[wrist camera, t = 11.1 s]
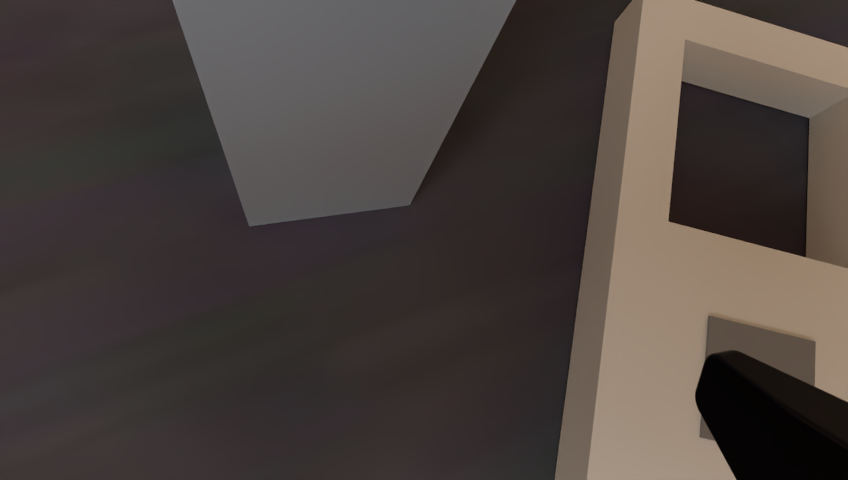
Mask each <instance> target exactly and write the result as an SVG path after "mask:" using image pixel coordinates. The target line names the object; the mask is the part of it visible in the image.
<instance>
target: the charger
mask: <svg viewBox="0 0 848 480" xmlns="http://www.w3.org/2000/svg"><path fill="white" fill-rule="evenodd" d="M515 2H516V0H173V3H174V6H175V9H176V12H177V15H178V18H179V21H180V24H181V27H182V30H183V33H184V36H185V39H186V41H187V44H188V47H189V50H190V53H191V56H192V59H193V62H194V65H195V68H196V71H197V74H198V77H199V80H200V83H201V86H202V89H203V92H204V95H205V97H206V100H207V103H208V106H209V109H210V112H211V115H212V118H213V121H214V124H215V127H216V130H217V133H218V136H219V139H220V142H221V145H222V148H223V151H224V154H225V156H226V159H227V162H228V165H229V168H230V171H231V174H232V177H233V180H234V183H235V186H236V189H237V192H238V195H239V198H240V201H241V204H242V207H243V210H244V212H245V215H246V218H247V221H248V224H249V226H256V225H264V224H271V223H279V222H287V221H294V220H302V219H309V218H317V217H325V216H332V215H340V214H347V213H355V212H362V211H370V210H378V209H385V208H393V207H400V206H408V205H410V204H411V202H412V200H413V198H414V196H415V194H416V192H417V190H418V188H419V187H420V185H421V183H422V181H423V179H424V177H425V175H426V173H427V171H428V169H429V167H430V165H431V163H432V162H433V160H434V158H435V156H436V154H437V152H438V150H439V148H440V146H441V144H442V142H443V140H444V138H445V136H446V135H447V133H448V131H449V129H450V127H451V125H452V123H453V121H454V119H455V117H456V115H457V113H458V111H459V109H460V108H461V106H462V104H463V102H464V100H465V98H466V96H467V94H468V92H469V90H470V88H471V86H472V84H473V82H474V81H475V79H476V77H477V75H478V73H479V71H480V69H481V67H482V65H483V63H484V61H485V59H486V57H487V55H488V54H489V52H490V50H491V48H492V46H493V44H494V42H495V40H496V38H497V36H498V34H499V32H500V30H501V28H502V27H503V25H504V23H505V21H506V19H507V17H508V15H509V13H510V11H511V9H512V7H513V5H514V3H515Z"/></svg>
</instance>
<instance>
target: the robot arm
mask: <svg viewBox="0 0 848 480" xmlns="http://www.w3.org/2000/svg"><path fill="white" fill-rule="evenodd" d="M695 401H696V405H697V408H698V410H699V412H700V414H701V416H702V418H703V419H704V421H705V423H706V425H707V427H708V429H709V430H710V432H711V434H712V436H713V438H714V440H715V441H716V443H717V445H718V447H719V449H720V451H721V452H722V454H723V456H724V458H725V460H726V462H727V464H728V465H729V467H730V469H731V471H732V473H733V475H734V476H735V478H736V480H848V402H847V401H845V400H842V399H840V398H838V397H836V396H834V395H832V394H830V393H827V392H825V391H823V390H821V389H819V388H817V387H815V386H812V385H810V384H808V383H806V382H804V381H802V380H800V379H798V378H795V377H793V376H791V375H789V374H787V373H785V372H783V371H780V370H778V369H776V368H774V367H772V366H770V365H768V364H765V363H763V362H761V361H759V360H757V359H755V358H753V357H750V356H748V355H746V354H744V353H742V352H740V351H737V350H727V351H722V352H717V353H712V354H710V355H709V356H708V357H707V358H706V359H705V361H704V365H703V368H702V371H701V374H700V378H699V381H698V384H697V388H696V391H695Z"/></svg>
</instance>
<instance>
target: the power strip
mask: <svg viewBox="0 0 848 480" xmlns="http://www.w3.org/2000/svg"><path fill="white" fill-rule="evenodd" d="M681 81H683V82H687V83H690V84H693V85H697V86H700V87H704V88H707V89H711V90H714V91H718V92H721V93H724V94H728V95H731V96H735V97H738V98H742V99H745V100H748V101H752V102H755V103H759V104H762V105H766V106H769V107H772V108H776V109H779V110H783V111H786V112H790V113H793V114H796V115H800V116H803V117H807V118H809V153H808V191H807V229H806V257H802V256H798V255H794V254H790V253H787V252H783V251H779V250H775V249H771V248H768V247H764V246H760V245H756V244H752V243H748V242H745V241H741V240H737V239H733V238H729V237H725V236H722V235H718V234H714V233H710V232H706V231H703V230H699V229H695V228H691V227H687V226H683V225H680V224H676V223H672V222H668V219H669V209H670V198H671V187H672V176H673V166H674V155H675V144H676V133H677V122H678V112H679V101H680V90H681ZM727 350H737V351H740V352H742V353H744V354H746V355H748V356H750V357H753V358H755V359H757V360H759V361H761V362H763V363H765V364H768V365H770V366H772V367H774V368H776V369H778V370H780V371H783V372H785V373H787V374H789V375H791V376H793V377H795V378H798V379H800V380H802V381H804V382H806V383H808V384H810V385H812V386H815V387H817V388H819V389H821V390H823V391H825V392H827V393H830V394H832V395H834V396H836V397H838V398H840V399H842V400H845V401H847V402H848V48H847V47H844V46H841V45H837V44H834V43H831V42H828V41H825V40H821V39H818V38H815V37H812V36H808V35H805V34H802V33H799V32H795V31H792V30H789V29H786V28H783V27H779V26H776V25H773V24H770V23H766V22H763V21H760V20H757V19H753V18H750V17H747V16H744V15H740V14H737V13H734V12H731V11H728V10H724V9H721V8H718V7H715V6H711V5H708V4H705V3H702V2H698V1H695V0H632V1H631V3H630V4H629V5H628V6H627V8H626V9H625V10H624V11H623V13H622V14H621V15H620V16H619V17H618V19H617V20H616V21H615V23H614V31H613V38H612V46H611V53H610V61H609V69H608V76H607V84H606V91H605V99H604V107H603V114H602V122H601V130H600V137H599V145H598V152H597V160H596V168H595V175H594V183H593V190H592V198H591V206H590V213H589V221H588V229H587V236H586V244H585V251H584V259H583V267H582V274H581V282H580V289H579V297H578V305H577V312H576V320H575V328H574V335H573V343H572V350H571V358H570V366H569V373H568V381H567V388H566V396H565V404H564V411H563V419H562V426H561V434H560V442H559V449H558V457H557V465H556V472H555V480H736V478H735V476H734V475H733V473H732V471H731V469H730V467H729V465H728V464H727V462H726V460H725V458H724V456H723V454H722V452H721V451H720V449H719V447H718V445H717V443H716V441H715V440H714V438H713V436H712V434H711V432H710V430H709V429H708V427H707V425H706V423H705V421H704V419H703V418H702V416H701V414H700V412H699V410H698V408H697V405H696V401H695V391H696V388H697V384H698V381H699V378H700V374H701V371H702V368H703V365H704V361H705V359H706V358H707V357H708V356H709V355H710V354H712V353H717V352H722V351H727Z"/></svg>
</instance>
